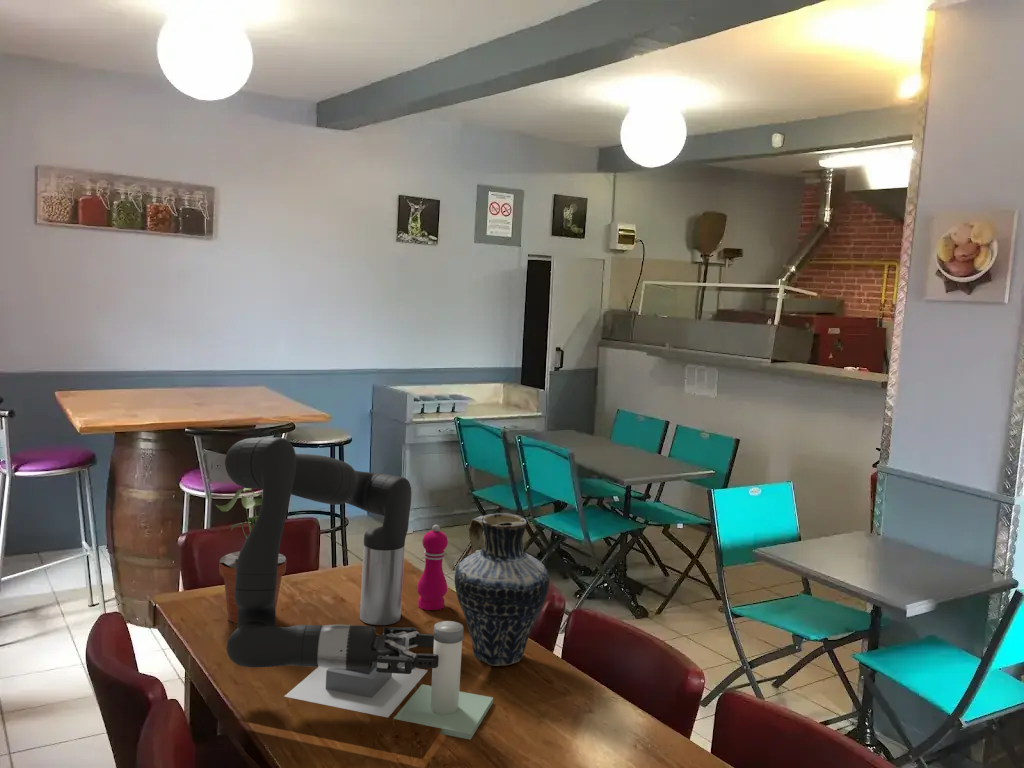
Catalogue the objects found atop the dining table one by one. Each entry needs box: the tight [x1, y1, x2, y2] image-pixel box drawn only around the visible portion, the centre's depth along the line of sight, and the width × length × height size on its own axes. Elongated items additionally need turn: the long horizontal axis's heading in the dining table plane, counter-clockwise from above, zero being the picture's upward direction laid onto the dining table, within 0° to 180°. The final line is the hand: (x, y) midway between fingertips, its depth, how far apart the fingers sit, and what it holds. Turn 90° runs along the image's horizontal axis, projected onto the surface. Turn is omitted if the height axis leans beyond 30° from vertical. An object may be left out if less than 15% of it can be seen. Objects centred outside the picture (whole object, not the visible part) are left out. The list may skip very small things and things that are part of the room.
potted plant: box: [215, 487, 288, 624], centre depth 186 cm, size 16×15×35 cm
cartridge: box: [430, 620, 464, 715], centre depth 149 cm, size 5×5×15 cm
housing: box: [283, 662, 429, 718], centre depth 157 cm, size 20×20×4 cm
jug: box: [454, 512, 550, 667], centre depth 173 cm, size 21×19×30 cm
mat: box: [393, 683, 494, 740], centre depth 150 cm, size 14×14×1 cm
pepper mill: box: [416, 524, 449, 611], centre depth 200 cm, size 7×7×20 cm
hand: (439, 650), depth 149 cm, fingers open, 8 cm apart
